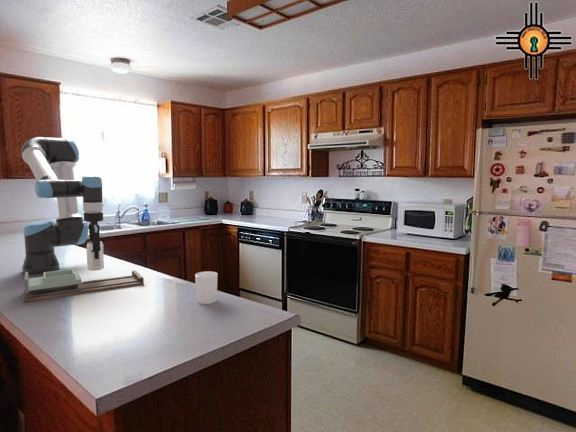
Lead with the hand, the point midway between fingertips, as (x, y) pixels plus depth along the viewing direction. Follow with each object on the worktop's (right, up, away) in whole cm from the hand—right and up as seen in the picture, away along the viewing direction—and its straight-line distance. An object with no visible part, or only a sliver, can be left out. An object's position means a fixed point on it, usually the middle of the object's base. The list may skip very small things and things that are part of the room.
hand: (95, 264), depth 169 cm
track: (+3, -8, -14) cm, 16 cm away
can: (0, -2, 0) cm, 2 cm away
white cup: (+55, -10, -30) cm, 63 cm away
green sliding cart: (-6, -7, -20) cm, 22 cm away
